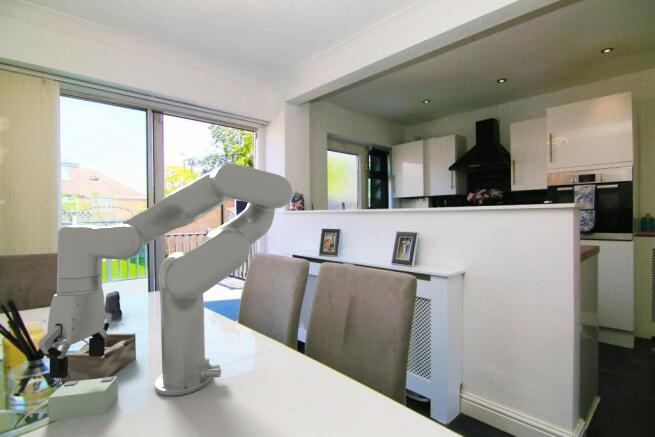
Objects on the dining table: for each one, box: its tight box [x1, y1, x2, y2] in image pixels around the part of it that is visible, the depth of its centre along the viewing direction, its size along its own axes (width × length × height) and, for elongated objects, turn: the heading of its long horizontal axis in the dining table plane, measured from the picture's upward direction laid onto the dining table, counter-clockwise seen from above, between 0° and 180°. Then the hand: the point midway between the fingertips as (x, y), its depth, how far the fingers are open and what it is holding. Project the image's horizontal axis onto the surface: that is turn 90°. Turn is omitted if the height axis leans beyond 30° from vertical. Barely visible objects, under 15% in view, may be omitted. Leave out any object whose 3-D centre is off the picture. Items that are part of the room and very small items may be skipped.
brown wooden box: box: [60, 333, 137, 386], centre depth 84 cm, size 14×11×7 cm
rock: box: [104, 290, 123, 321], centre depth 128 cm, size 10×6×10 cm, turn 31°
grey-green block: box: [47, 376, 119, 422], centre depth 68 cm, size 10×6×5 cm, turn 102°
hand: (78, 365), depth 67 cm, fingers open, 9 cm apart
